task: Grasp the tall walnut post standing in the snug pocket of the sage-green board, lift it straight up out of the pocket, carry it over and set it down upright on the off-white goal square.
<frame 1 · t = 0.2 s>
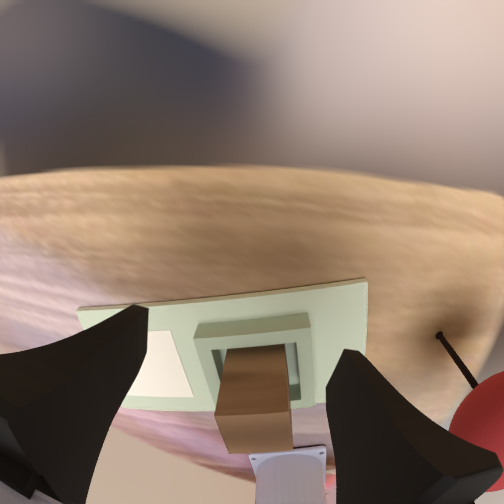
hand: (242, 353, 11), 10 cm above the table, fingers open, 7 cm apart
pocket board: (221, 359, 23), on the table
walnut post: (259, 361, 22), point 1 cm above the table, touching pocket board
lollipop: (439, 334, 22), on the table
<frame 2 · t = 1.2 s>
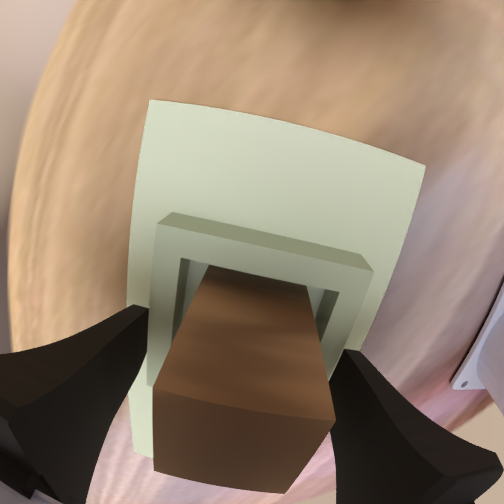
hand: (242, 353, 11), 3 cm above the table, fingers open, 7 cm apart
pocket board: (236, 360, 15), on the table
walnut post: (247, 317, 13), point 1 cm above the table, touching pocket board
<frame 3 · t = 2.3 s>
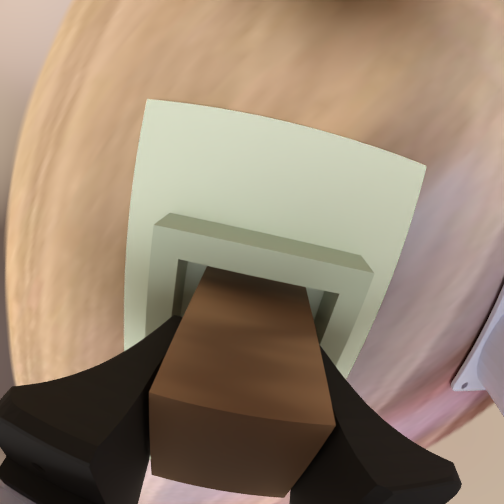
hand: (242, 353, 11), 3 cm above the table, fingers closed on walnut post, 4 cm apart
pocket board: (234, 362, 15), on the table
walnut post: (246, 318, 13), point 1 cm above the table, touching gripper, pocket board
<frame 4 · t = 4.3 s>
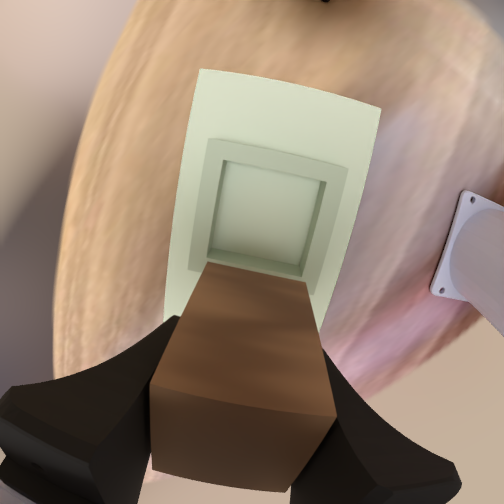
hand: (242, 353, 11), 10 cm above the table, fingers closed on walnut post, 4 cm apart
pocket board: (255, 256, 20), on the table
walnut post: (246, 314, 13), point 7 cm above the table, touching gripper
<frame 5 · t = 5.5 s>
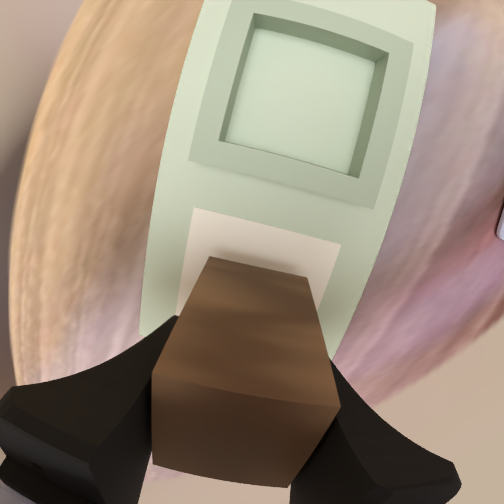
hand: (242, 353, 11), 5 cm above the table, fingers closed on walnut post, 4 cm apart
pocket board: (285, 160, 14), on the table
walnut post: (248, 309, 13), point 3 cm above the table, touching gripper
when the fingers open (4 cm above the table, at t = 6.5 s): walnut post drops 1 cm, resting on pocket board.
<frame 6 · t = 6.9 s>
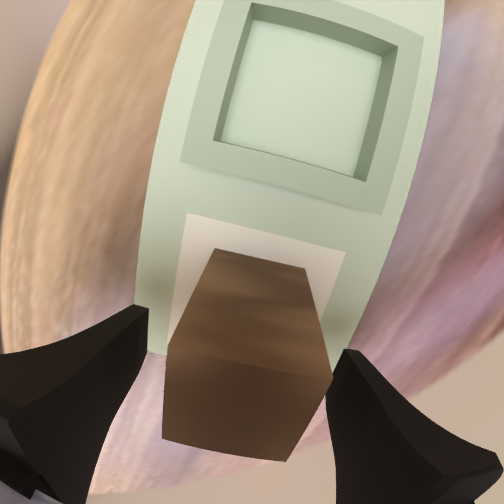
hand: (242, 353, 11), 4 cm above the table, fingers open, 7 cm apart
pocket board: (286, 161, 13), on the table
walnut post: (250, 298, 14), point 1 cm above the table, touching pocket board
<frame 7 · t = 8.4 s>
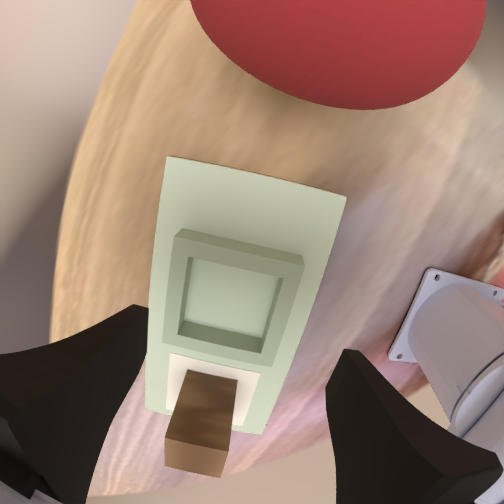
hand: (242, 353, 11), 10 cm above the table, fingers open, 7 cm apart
pocket board: (223, 327, 22), on the table
walnut post: (209, 391, 23), point 1 cm above the table, touching pocket board
lollipop: (299, 69, 16), on the table
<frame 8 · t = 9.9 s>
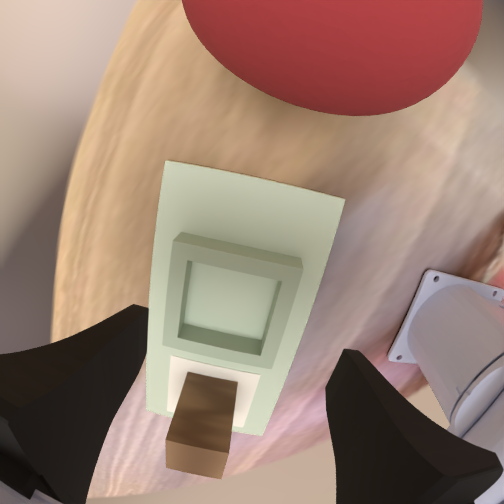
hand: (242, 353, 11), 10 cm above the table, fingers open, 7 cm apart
pocket board: (222, 329, 22), on the table
walnut post: (210, 393, 23), point 1 cm above the table, touching pocket board
lollipop: (296, 71, 16), on the table
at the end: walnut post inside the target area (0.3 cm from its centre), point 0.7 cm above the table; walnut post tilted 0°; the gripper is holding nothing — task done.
